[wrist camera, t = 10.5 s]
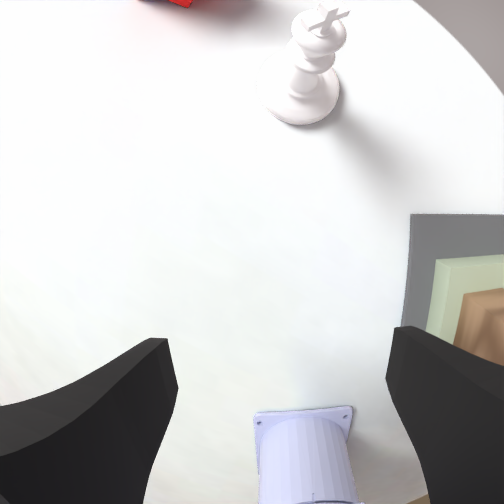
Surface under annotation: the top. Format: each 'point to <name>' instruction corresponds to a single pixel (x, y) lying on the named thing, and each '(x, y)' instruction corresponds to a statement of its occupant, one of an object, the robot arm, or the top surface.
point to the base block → (460, 289)
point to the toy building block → (182, 2)
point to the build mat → (444, 253)
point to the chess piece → (305, 67)
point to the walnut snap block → (482, 325)
